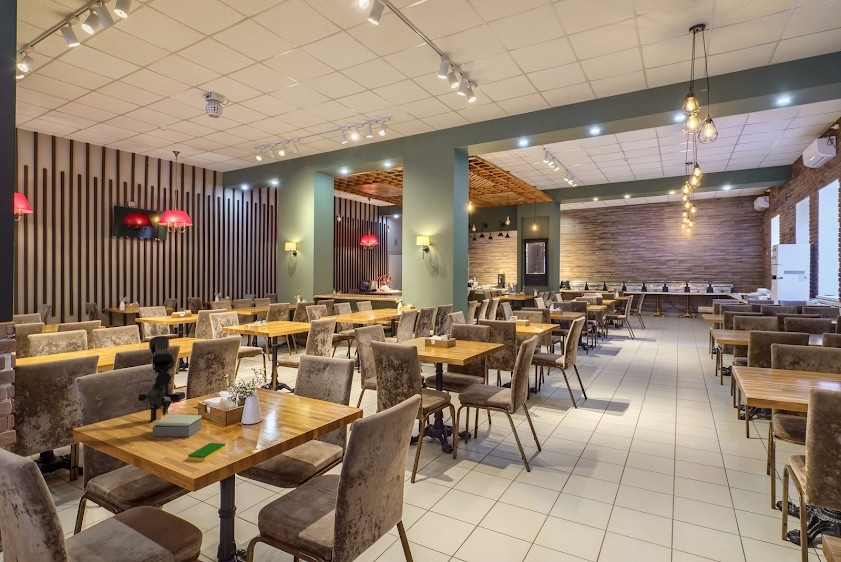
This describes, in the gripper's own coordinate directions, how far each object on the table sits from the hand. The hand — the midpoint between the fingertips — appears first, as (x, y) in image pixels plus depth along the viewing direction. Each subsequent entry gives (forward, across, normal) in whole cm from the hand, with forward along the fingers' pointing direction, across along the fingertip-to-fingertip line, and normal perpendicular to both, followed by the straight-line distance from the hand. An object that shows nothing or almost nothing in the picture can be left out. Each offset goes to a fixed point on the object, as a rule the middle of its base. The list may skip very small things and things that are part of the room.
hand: (161, 415), depth 203 cm
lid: (+3, +7, 0) cm, 8 cm away
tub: (+8, +7, 0) cm, 11 cm away
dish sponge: (+9, +32, -24) cm, 41 cm away
